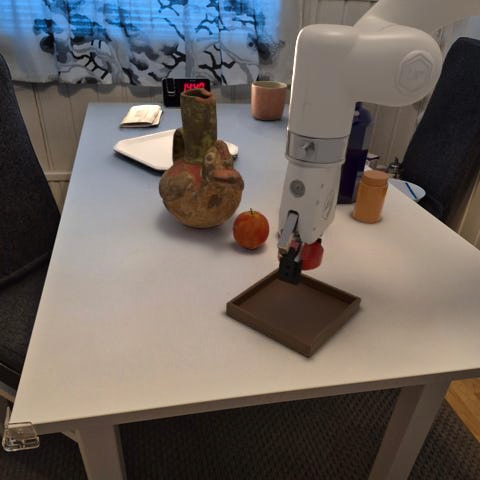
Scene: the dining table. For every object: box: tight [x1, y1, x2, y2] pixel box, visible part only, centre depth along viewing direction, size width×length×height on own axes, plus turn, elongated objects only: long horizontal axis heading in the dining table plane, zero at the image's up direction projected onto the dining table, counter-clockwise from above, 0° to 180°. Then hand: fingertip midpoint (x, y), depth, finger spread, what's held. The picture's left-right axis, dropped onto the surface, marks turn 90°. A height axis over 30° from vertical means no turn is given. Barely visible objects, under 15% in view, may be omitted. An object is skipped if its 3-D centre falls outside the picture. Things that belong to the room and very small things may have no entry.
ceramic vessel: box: [158, 87, 245, 229], centre depth 85 cm, size 17×26×25 cm, turn 29°
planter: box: [250, 80, 288, 121], centre depth 159 cm, size 12×12×11 cm
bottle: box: [336, 101, 375, 205], centre depth 98 cm, size 9×9×30 cm
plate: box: [112, 128, 239, 173], centre depth 126 cm, size 29×29×2 cm
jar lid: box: [276, 241, 325, 272], centre depth 64 cm, size 6×6×2 cm
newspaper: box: [119, 104, 163, 128], centre depth 155 cm, size 23×12×2 cm, turn 1°
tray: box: [225, 266, 362, 358], centre depth 70 cm, size 15×15×2 cm
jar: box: [352, 169, 390, 224], centre depth 96 cm, size 6×6×10 cm
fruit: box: [232, 207, 270, 250], centre depth 84 cm, size 7×7×8 cm
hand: (298, 269), depth 65 cm, fingers closed on jar lid, 6 cm apart
